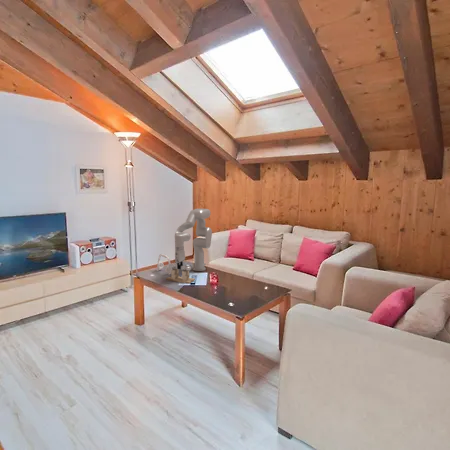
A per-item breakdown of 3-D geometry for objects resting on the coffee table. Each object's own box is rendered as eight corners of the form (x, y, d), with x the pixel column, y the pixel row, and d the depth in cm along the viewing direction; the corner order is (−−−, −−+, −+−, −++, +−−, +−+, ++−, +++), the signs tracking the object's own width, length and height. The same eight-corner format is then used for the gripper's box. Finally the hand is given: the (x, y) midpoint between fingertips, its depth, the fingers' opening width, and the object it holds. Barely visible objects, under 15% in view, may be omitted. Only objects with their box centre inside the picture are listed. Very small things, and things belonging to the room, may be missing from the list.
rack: (172, 276, 300) (171, 264, 298) (195, 280, 290) (194, 267, 288) (165, 280, 291) (165, 267, 289) (189, 283, 281) (188, 270, 279)
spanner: (167, 268, 291) (167, 264, 290) (171, 266, 296) (171, 263, 296) (189, 271, 282) (188, 267, 282) (192, 269, 287) (192, 266, 287)
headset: (173, 274, 308) (172, 255, 305) (166, 275, 303) (166, 257, 300) (162, 269, 323) (161, 252, 320) (155, 271, 318) (155, 253, 315)
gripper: (178, 250, 277) (178, 271, 280) (188, 246, 292) (188, 266, 295) (170, 249, 280) (171, 270, 283) (180, 245, 295) (181, 265, 298)
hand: (180, 268), depth 289 cm, fingers closed on spanner, 3 cm apart
